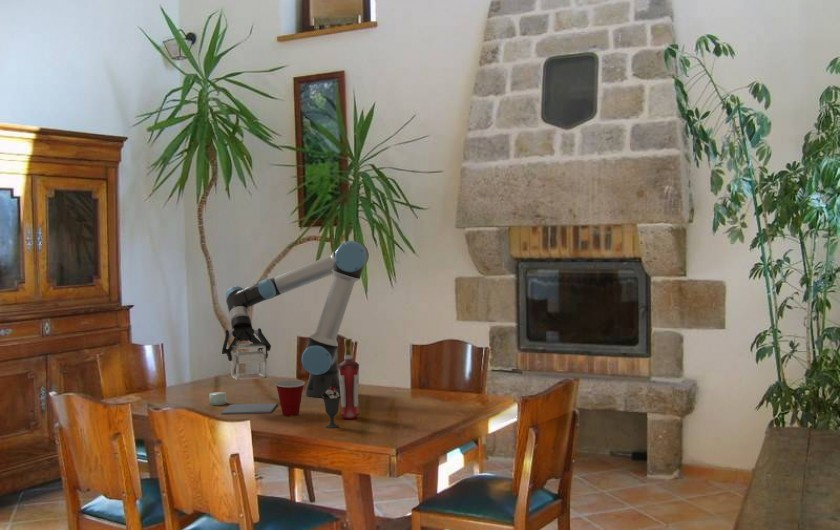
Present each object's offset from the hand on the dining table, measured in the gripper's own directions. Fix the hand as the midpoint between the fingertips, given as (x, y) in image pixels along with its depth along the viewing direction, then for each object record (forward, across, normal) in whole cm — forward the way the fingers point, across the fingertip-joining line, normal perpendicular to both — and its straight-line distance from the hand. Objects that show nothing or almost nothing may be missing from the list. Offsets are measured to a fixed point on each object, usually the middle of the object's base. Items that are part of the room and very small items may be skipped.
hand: (250, 365), depth 338 cm
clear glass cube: (+1, 0, -5) cm, 5 cm away
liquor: (+34, -28, +10) cm, 46 cm away
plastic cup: (+23, -11, -2) cm, 25 cm away
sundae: (+42, -18, +18) cm, 49 cm away
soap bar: (-3, +9, -27) cm, 29 cm away
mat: (+10, 0, -14) cm, 17 cm away
